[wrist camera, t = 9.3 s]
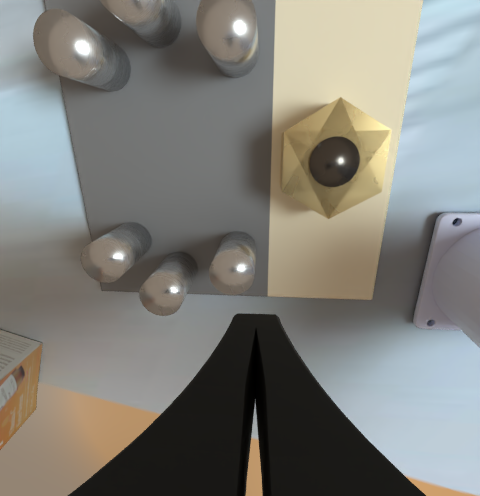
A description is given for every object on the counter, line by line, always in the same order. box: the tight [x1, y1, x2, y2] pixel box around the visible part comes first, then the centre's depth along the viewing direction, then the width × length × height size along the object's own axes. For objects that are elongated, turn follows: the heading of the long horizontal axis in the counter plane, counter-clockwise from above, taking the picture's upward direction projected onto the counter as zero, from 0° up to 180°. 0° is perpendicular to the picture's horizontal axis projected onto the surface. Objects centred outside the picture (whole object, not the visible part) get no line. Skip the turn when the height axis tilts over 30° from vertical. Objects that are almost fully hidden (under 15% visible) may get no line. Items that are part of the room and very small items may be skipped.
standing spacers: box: [33, 0, 259, 316], centre depth 15 cm, size 9×16×4 cm, turn 1°
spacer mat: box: [44, 0, 423, 300], centre depth 17 cm, size 19×18×1 cm
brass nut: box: [280, 97, 392, 219], centre depth 15 cm, size 5×6×3 cm
